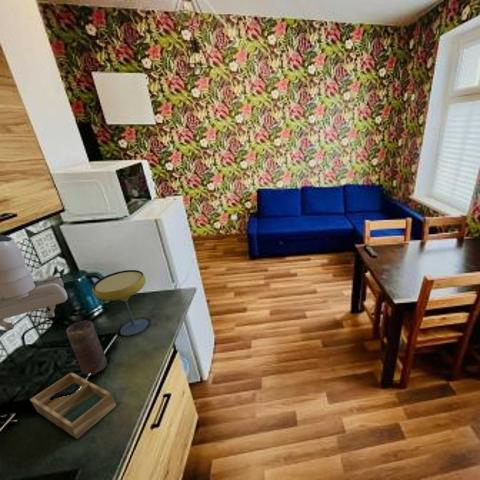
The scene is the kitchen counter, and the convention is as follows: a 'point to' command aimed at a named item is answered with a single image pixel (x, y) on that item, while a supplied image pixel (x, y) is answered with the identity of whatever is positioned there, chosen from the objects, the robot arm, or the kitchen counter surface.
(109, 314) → the kitchen counter surface
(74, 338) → the candle
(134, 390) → the kitchen counter surface
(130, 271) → the cocktail glass
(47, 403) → the tray
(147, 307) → the kitchen counter surface
